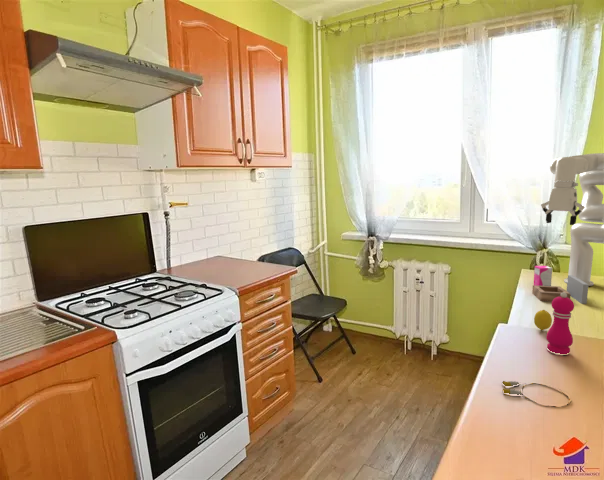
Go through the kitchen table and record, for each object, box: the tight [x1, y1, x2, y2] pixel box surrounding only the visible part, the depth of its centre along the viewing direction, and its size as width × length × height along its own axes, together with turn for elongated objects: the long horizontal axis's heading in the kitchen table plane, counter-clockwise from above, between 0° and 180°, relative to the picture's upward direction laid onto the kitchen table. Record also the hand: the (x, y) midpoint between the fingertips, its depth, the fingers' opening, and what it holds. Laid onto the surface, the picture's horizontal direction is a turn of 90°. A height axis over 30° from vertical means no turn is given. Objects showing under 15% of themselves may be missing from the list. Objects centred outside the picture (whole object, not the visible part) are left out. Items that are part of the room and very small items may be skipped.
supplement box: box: [533, 265, 553, 286], centre depth 193 cm, size 6×6×12 cm
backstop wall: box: [565, 275, 590, 305], centre depth 178 cm, size 16×2×9 cm, turn 166°
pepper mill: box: [546, 292, 575, 354], centre depth 125 cm, size 7×7×20 cm
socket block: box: [531, 284, 571, 303], centre depth 180 cm, size 12×12×4 cm
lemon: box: [533, 309, 553, 331], centre depth 143 cm, size 6×6×8 cm
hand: (560, 223), depth 176 cm, fingers open, 9 cm apart
